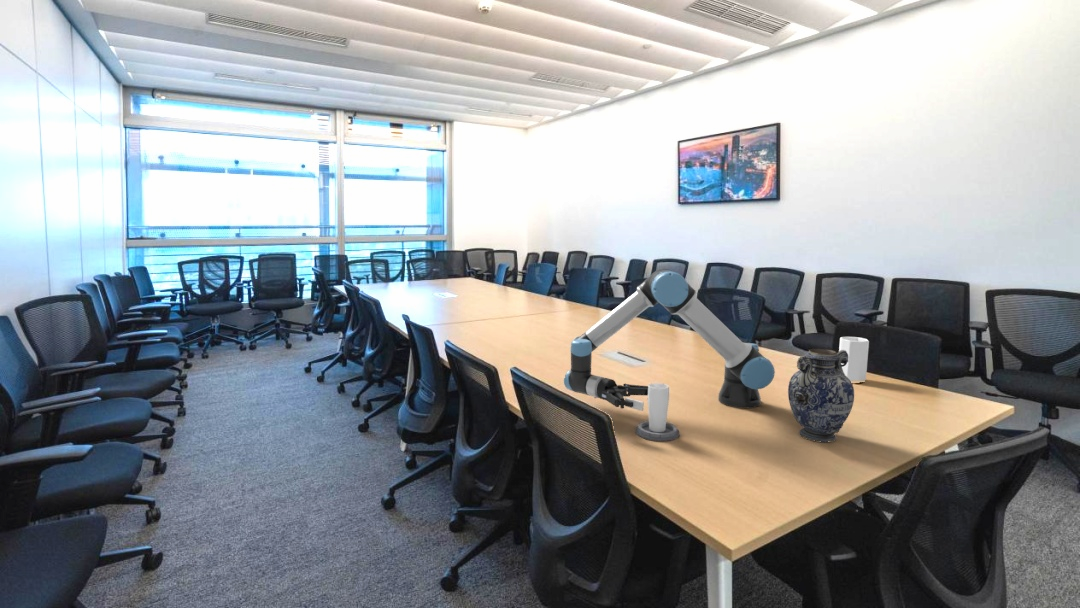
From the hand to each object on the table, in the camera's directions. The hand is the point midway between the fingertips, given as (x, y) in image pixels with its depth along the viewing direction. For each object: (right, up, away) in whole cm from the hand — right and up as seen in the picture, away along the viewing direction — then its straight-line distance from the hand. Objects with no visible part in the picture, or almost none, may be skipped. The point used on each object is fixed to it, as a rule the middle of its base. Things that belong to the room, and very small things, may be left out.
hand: (654, 401), depth 173 cm
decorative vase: (+52, -11, -2) cm, 53 cm away
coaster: (+1, -10, +1) cm, 11 cm away
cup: (+99, -2, +60) cm, 116 cm away
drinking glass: (+1, -10, +1) cm, 10 cm away
